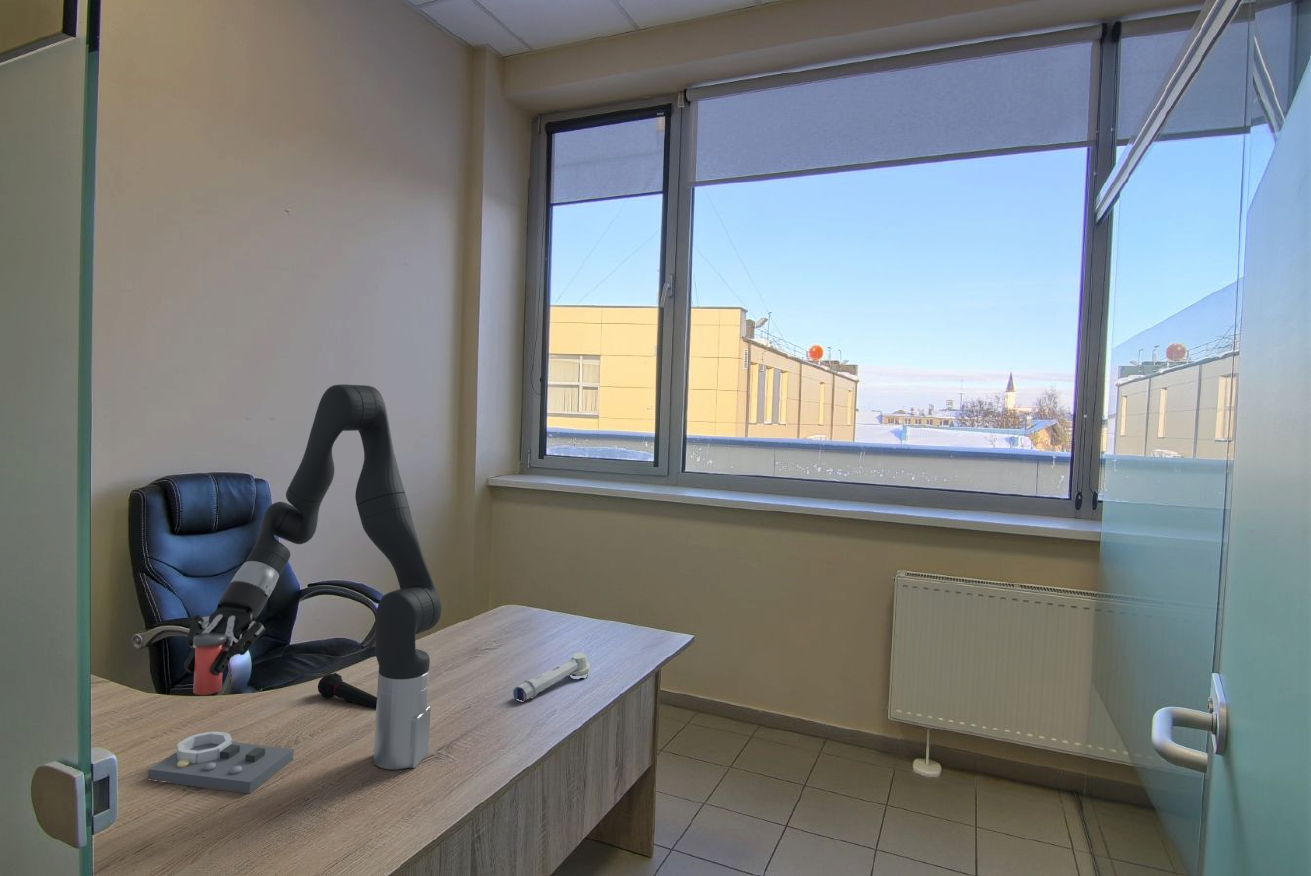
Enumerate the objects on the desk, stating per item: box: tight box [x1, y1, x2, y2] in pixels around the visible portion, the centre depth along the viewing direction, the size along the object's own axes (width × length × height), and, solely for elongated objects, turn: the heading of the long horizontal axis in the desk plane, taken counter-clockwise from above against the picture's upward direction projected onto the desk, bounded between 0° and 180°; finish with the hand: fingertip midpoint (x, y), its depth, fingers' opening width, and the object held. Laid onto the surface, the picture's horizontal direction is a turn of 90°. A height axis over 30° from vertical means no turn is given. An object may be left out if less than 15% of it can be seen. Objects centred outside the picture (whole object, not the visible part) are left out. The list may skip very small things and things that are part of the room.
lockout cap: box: [192, 632, 227, 696], centre depth 127 cm, size 5×5×10 cm
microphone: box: [317, 672, 377, 709], centre depth 157 cm, size 6×6×20 cm
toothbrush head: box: [512, 652, 591, 702], centre depth 173 cm, size 5×7×25 cm
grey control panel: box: [147, 730, 294, 794], centre depth 125 cm, size 19×12×4 cm, turn 84°
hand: (201, 671), depth 125 cm, fingers closed on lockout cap, 4 cm apart
